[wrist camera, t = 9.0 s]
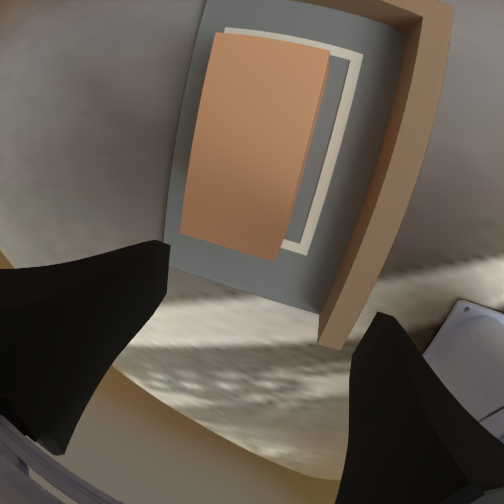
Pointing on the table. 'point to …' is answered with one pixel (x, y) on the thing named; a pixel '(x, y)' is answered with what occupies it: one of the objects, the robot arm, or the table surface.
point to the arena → (329, 149)
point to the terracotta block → (252, 141)
